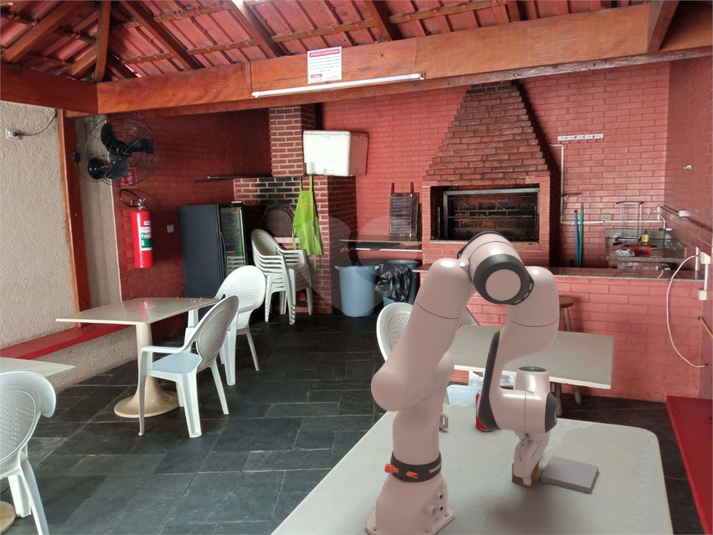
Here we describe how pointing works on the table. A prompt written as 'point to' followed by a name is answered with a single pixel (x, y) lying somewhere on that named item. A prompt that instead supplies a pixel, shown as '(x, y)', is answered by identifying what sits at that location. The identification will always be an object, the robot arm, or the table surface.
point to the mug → (442, 420)
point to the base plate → (570, 474)
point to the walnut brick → (534, 475)
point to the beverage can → (477, 417)
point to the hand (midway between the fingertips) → (531, 477)
